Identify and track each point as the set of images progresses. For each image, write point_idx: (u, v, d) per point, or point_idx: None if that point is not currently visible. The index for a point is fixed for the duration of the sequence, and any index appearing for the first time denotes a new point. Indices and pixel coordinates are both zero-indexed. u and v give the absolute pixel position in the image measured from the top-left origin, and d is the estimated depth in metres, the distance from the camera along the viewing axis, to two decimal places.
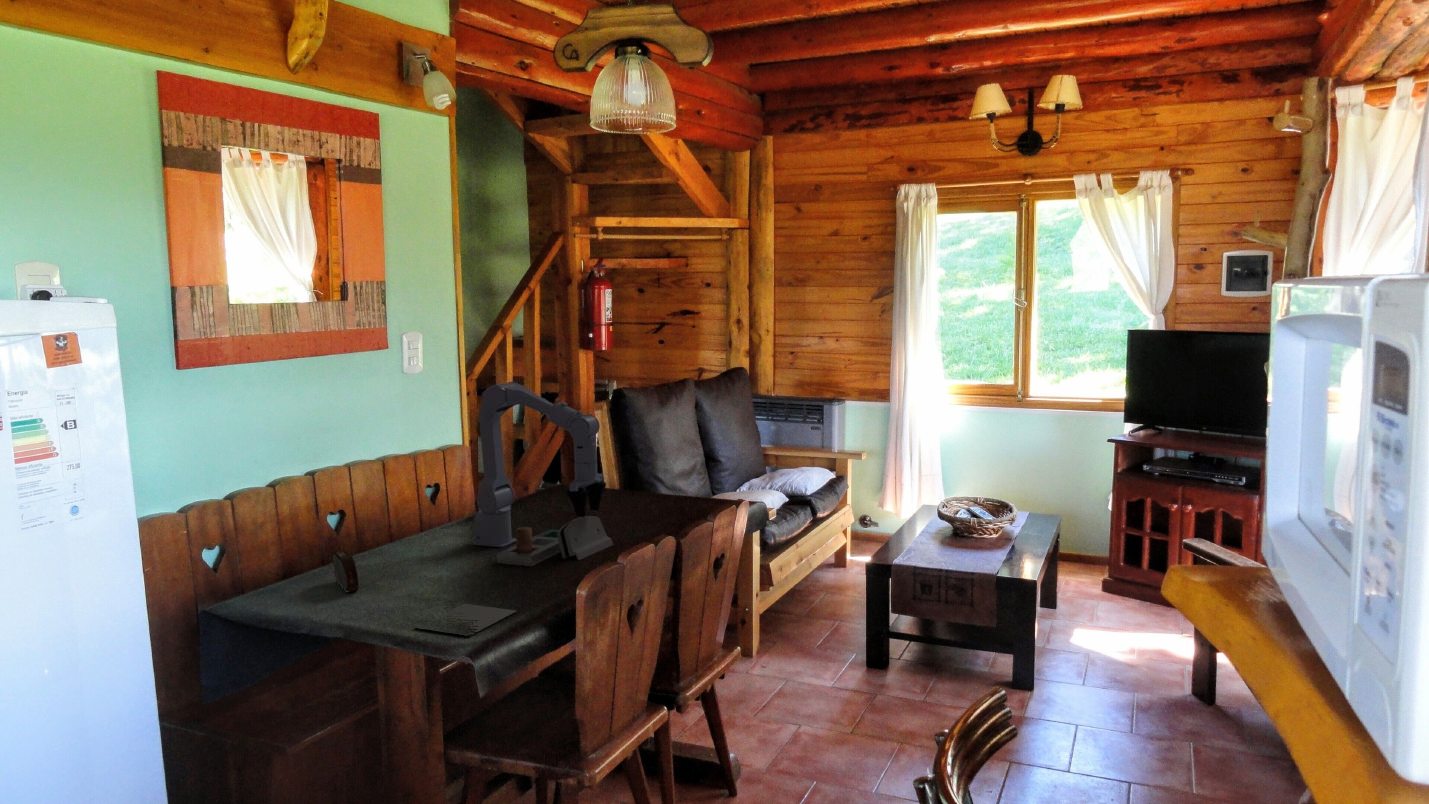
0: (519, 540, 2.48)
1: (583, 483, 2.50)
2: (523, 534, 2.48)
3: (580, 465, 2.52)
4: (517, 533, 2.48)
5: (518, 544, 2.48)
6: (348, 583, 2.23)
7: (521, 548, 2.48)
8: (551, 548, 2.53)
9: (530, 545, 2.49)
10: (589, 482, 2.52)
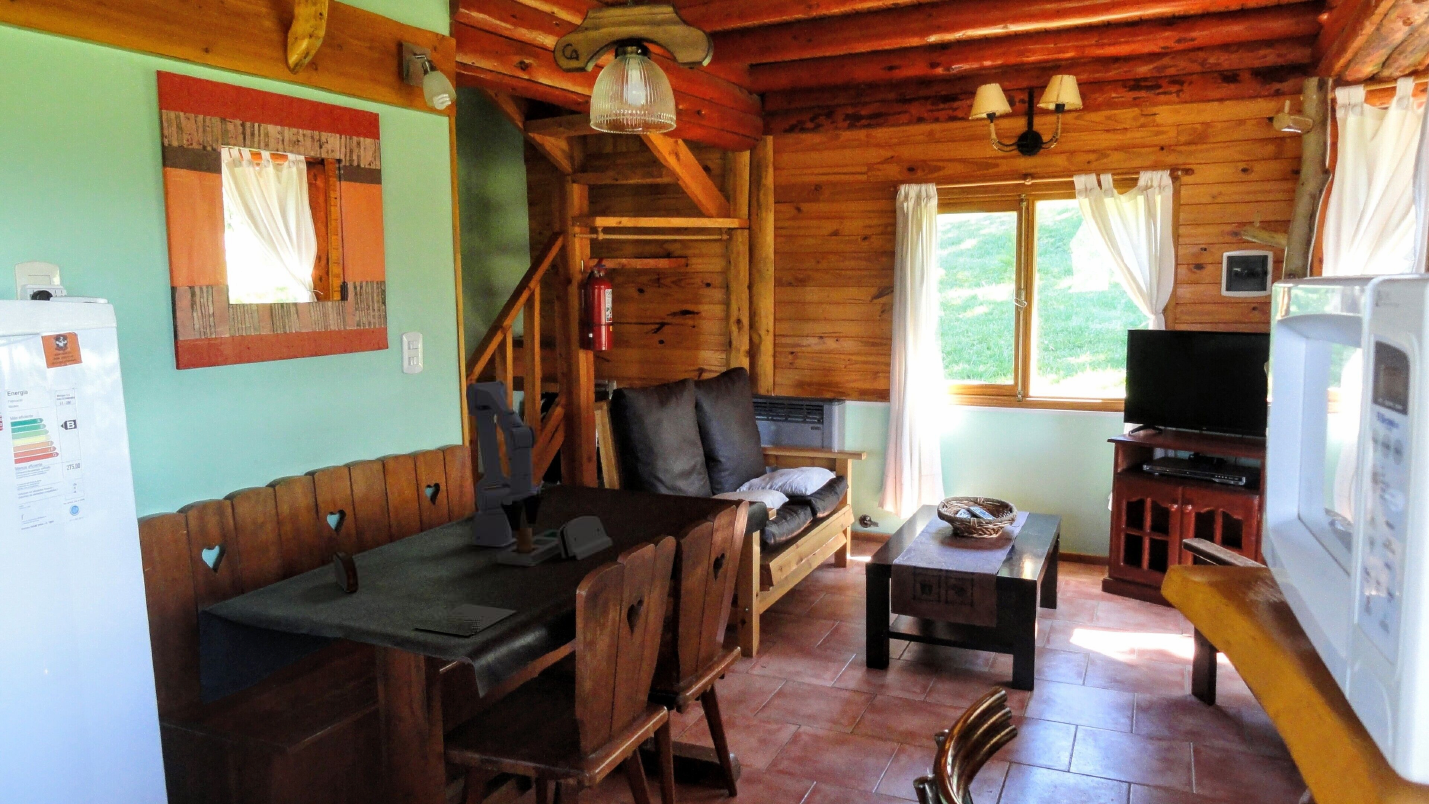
0: (519, 540, 2.48)
1: (517, 496, 2.44)
2: (523, 534, 2.48)
3: (515, 478, 2.45)
4: (517, 533, 2.48)
5: (518, 544, 2.48)
6: (348, 583, 2.23)
7: (521, 548, 2.48)
8: (551, 548, 2.53)
9: (530, 545, 2.49)
10: (524, 495, 2.45)
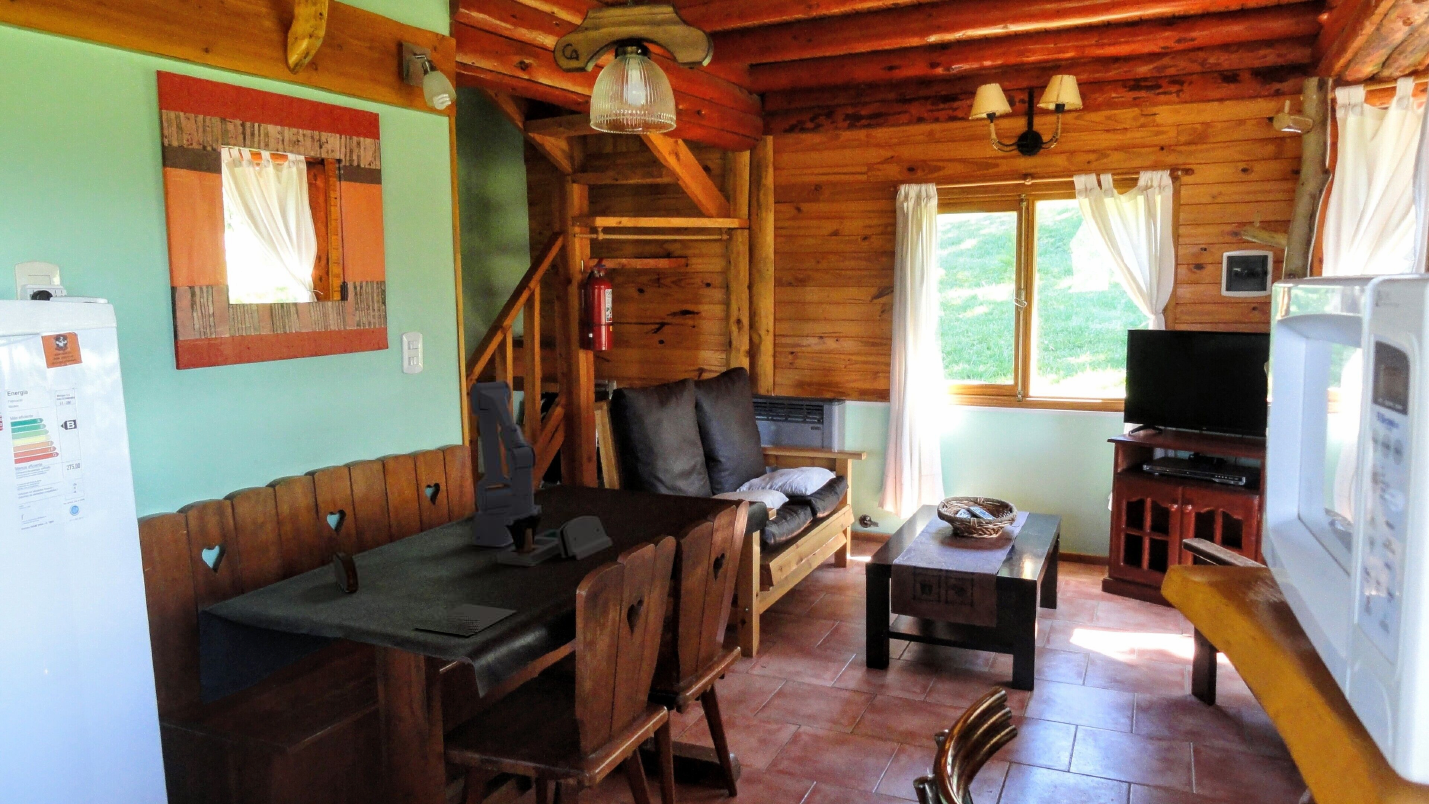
0: None
1: (518, 516, 2.44)
2: None
3: (516, 498, 2.46)
4: None
5: None
6: (348, 583, 2.23)
7: None
8: (551, 548, 2.53)
9: (530, 545, 2.49)
10: (525, 515, 2.46)
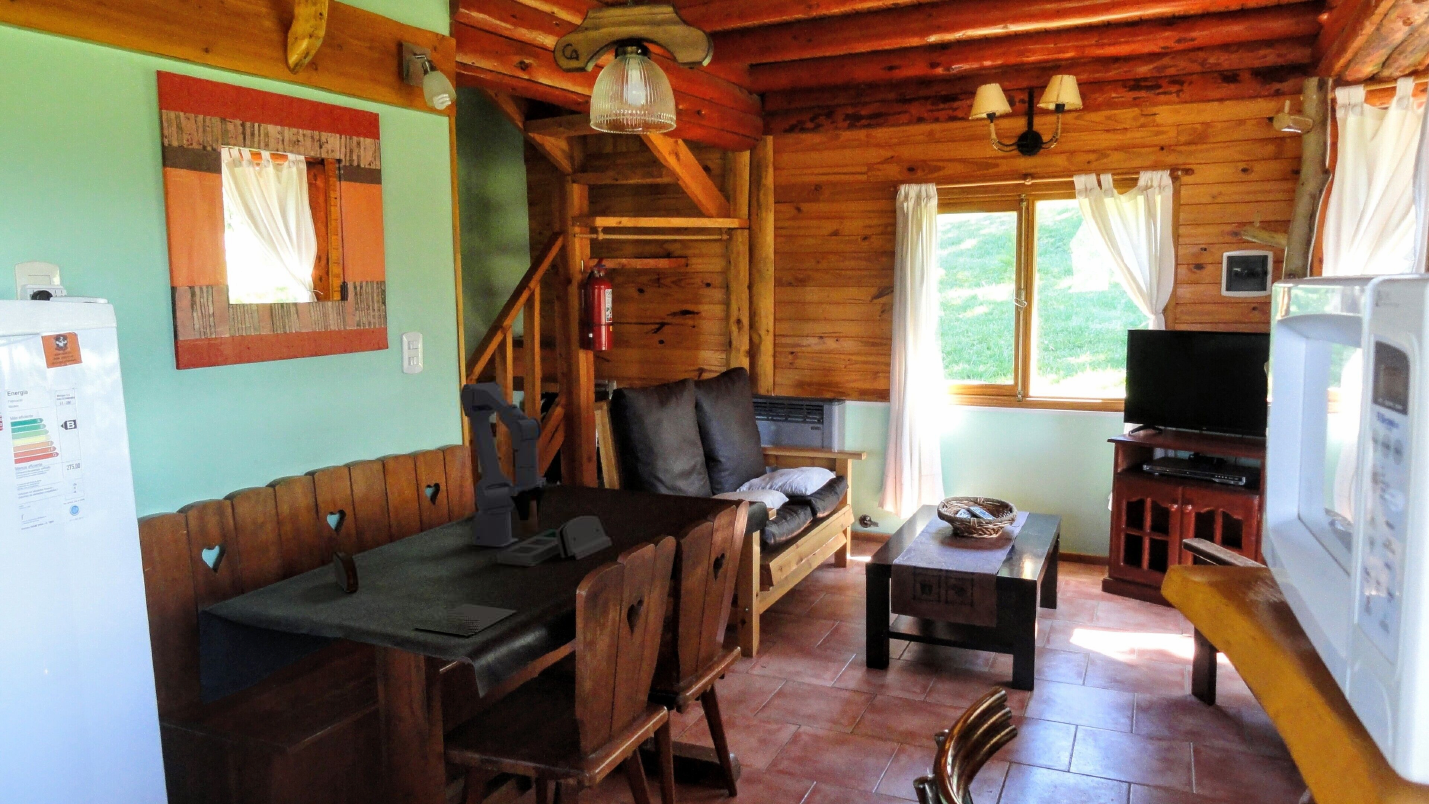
0: None
1: (523, 487, 2.46)
2: None
3: (520, 469, 2.48)
4: None
5: None
6: (348, 583, 2.23)
7: None
8: (551, 548, 2.53)
9: (534, 517, 2.51)
10: (529, 486, 2.48)
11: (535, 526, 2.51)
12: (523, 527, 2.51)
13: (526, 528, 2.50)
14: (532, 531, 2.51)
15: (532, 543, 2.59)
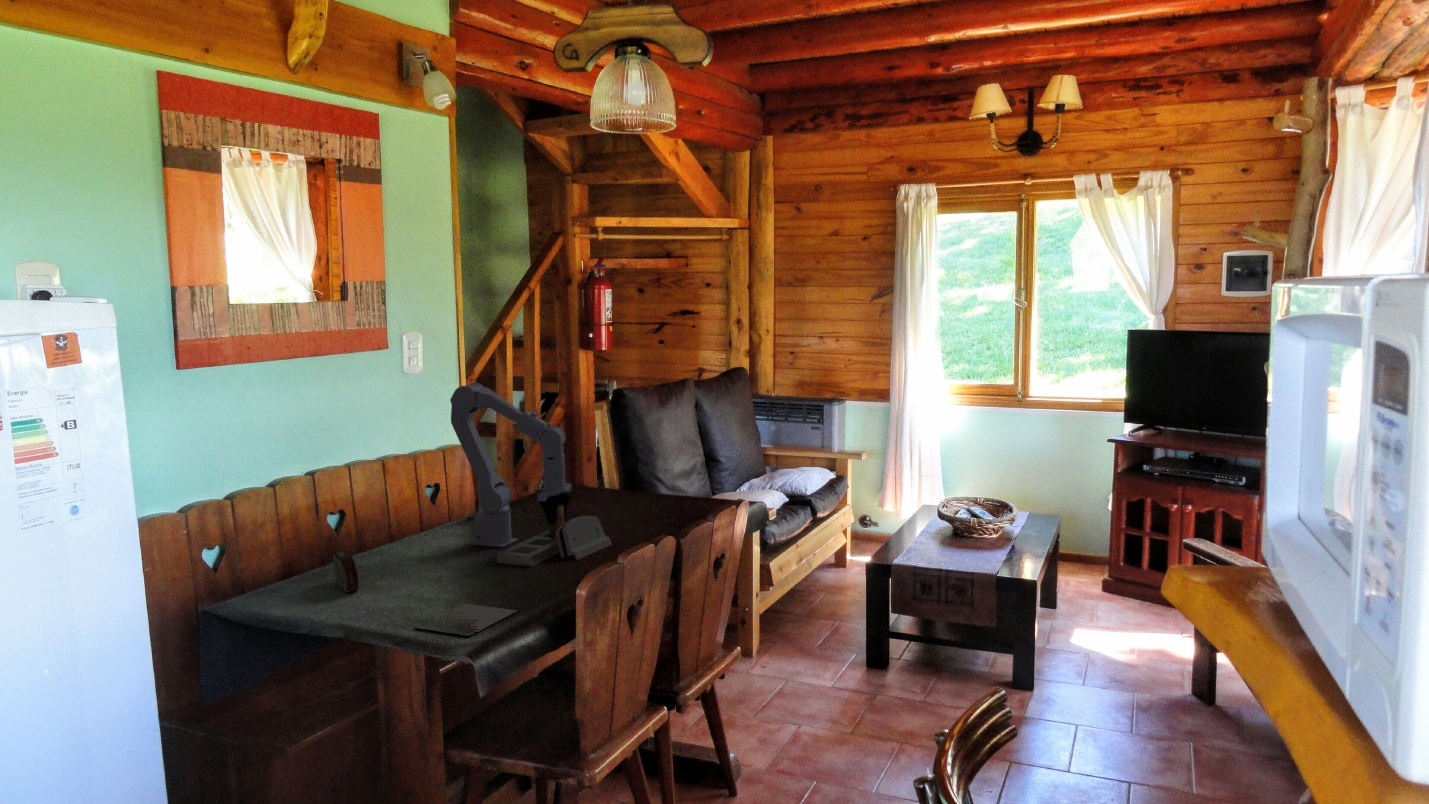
0: None
1: (551, 493, 2.59)
2: None
3: (548, 476, 2.60)
4: None
5: None
6: (348, 583, 2.23)
7: None
8: (551, 548, 2.53)
9: (562, 521, 2.64)
10: (557, 492, 2.60)
11: None
12: (551, 531, 2.63)
13: (554, 532, 2.63)
14: None
15: (532, 543, 2.59)
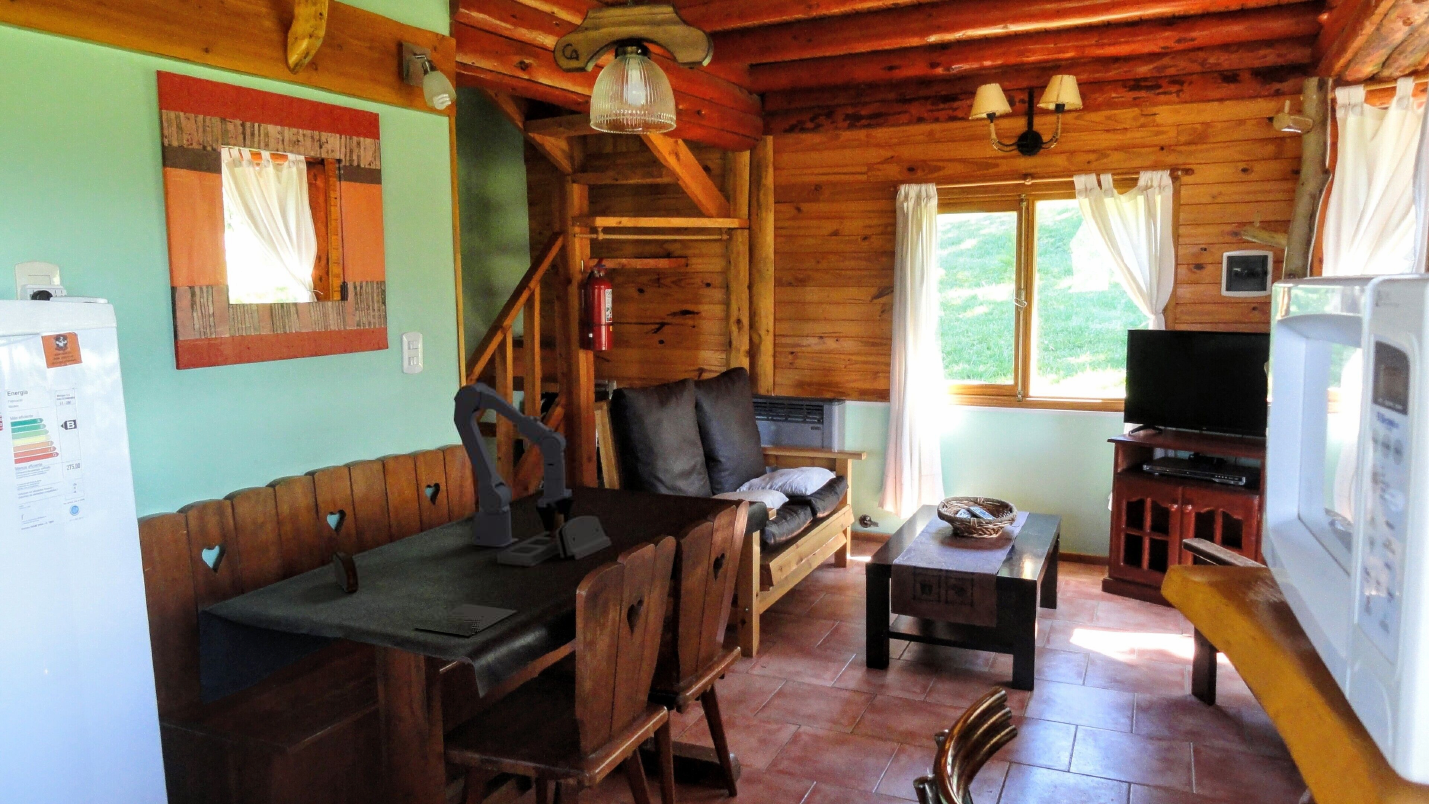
0: None
1: (551, 499, 2.59)
2: (556, 520, 2.62)
3: (548, 481, 2.61)
4: None
5: None
6: (348, 583, 2.23)
7: (554, 533, 2.63)
8: (551, 548, 2.53)
9: None
10: (557, 498, 2.61)
11: None
12: None
13: None
14: None
15: (532, 543, 2.59)
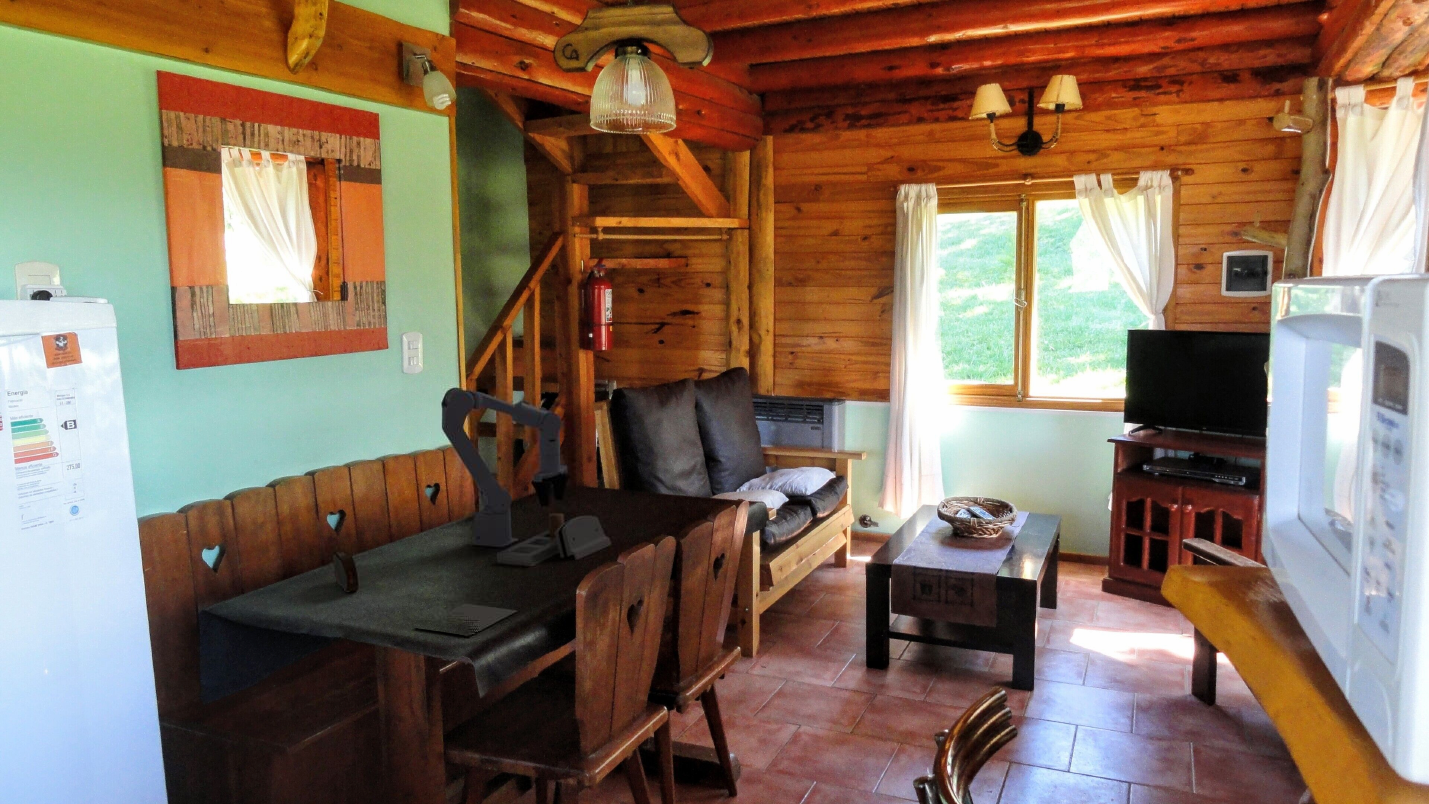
0: (552, 525, 2.63)
1: (546, 474, 2.67)
2: (556, 520, 2.62)
3: (544, 457, 2.69)
4: (550, 519, 2.63)
5: (551, 529, 2.63)
6: (348, 583, 2.23)
7: (554, 533, 2.63)
8: (551, 548, 2.53)
9: None
10: (552, 473, 2.69)
11: None
12: None
13: None
14: None
15: (532, 543, 2.59)
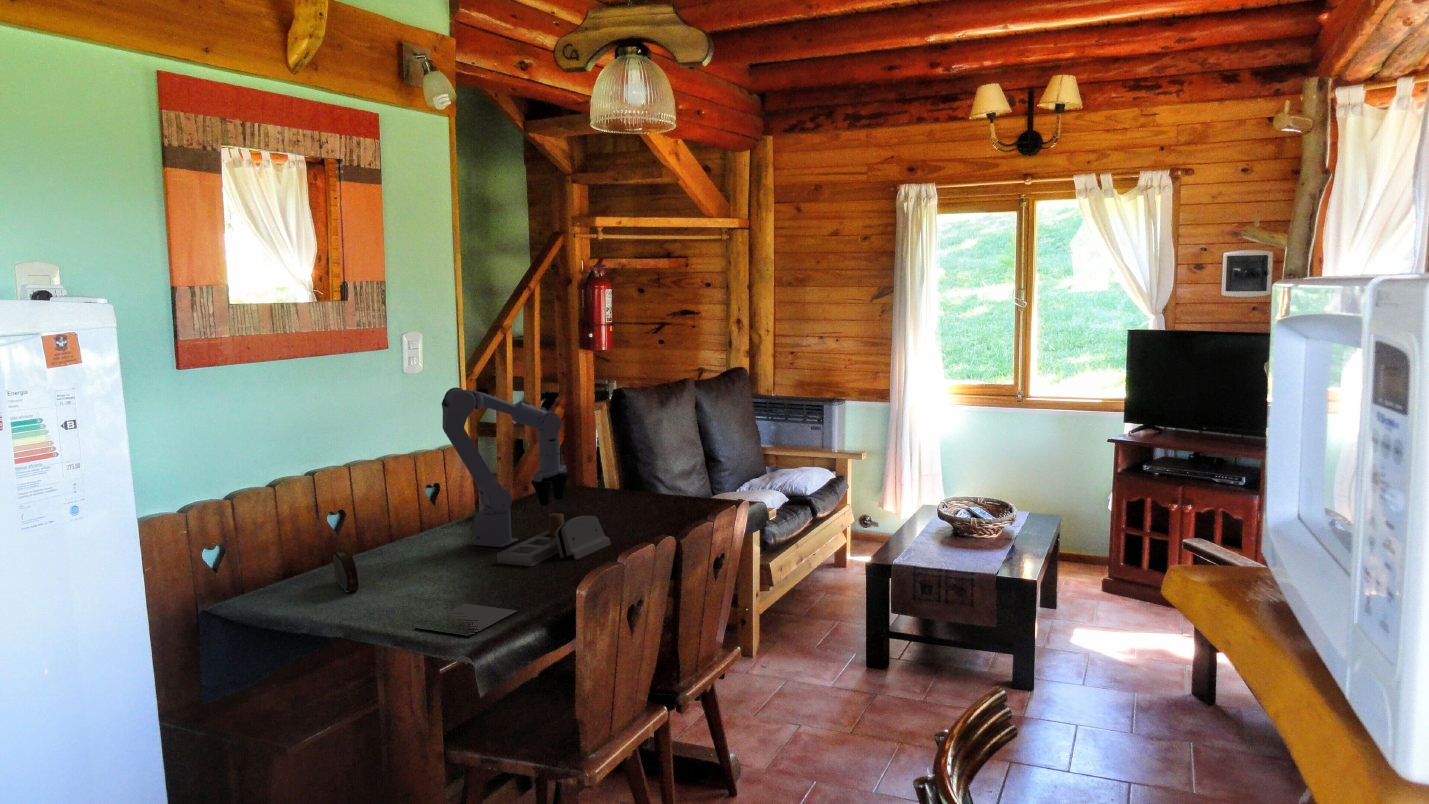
0: (552, 525, 2.63)
1: (546, 474, 2.68)
2: (556, 520, 2.62)
3: (544, 457, 2.70)
4: (550, 519, 2.63)
5: (551, 529, 2.63)
6: (348, 583, 2.23)
7: (554, 533, 2.63)
8: (551, 548, 2.53)
9: None
10: (552, 473, 2.70)
11: None
12: None
13: None
14: None
15: (532, 543, 2.59)
